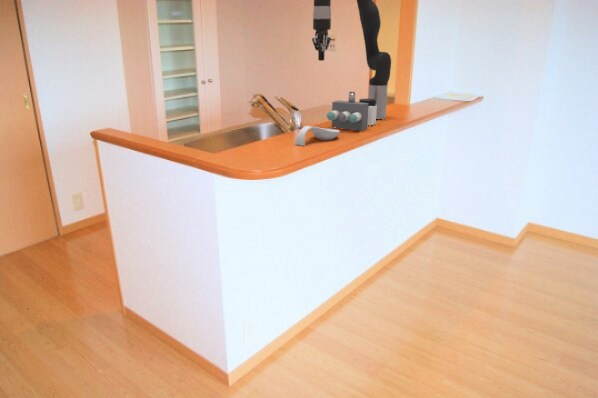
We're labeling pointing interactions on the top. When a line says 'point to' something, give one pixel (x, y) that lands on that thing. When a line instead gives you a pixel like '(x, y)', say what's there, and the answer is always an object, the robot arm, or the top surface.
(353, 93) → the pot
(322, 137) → the spoon rest
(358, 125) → the panel
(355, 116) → the knob right
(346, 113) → the knob mid
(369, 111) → the jar
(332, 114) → the knob left
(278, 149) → the top surface
